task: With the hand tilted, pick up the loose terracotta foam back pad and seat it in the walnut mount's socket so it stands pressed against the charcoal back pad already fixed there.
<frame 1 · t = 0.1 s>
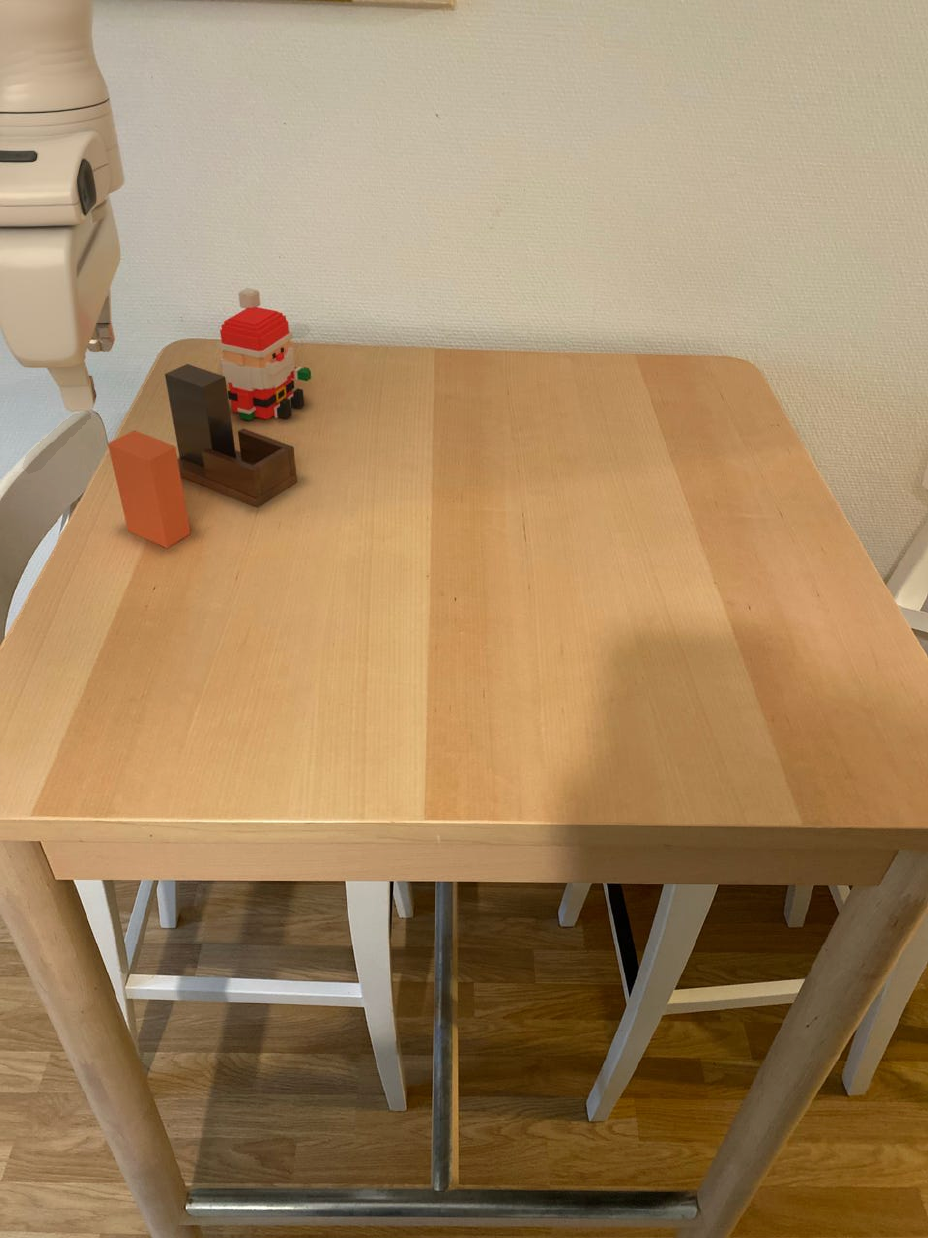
hand: (92, 375, 62), 20 cm above the table, tool pointing down, fingers open, 8 cm apart
pad: (159, 532, 83), on the table
mount: (249, 483, 90), on the table
figurine: (269, 407, 104), on the table
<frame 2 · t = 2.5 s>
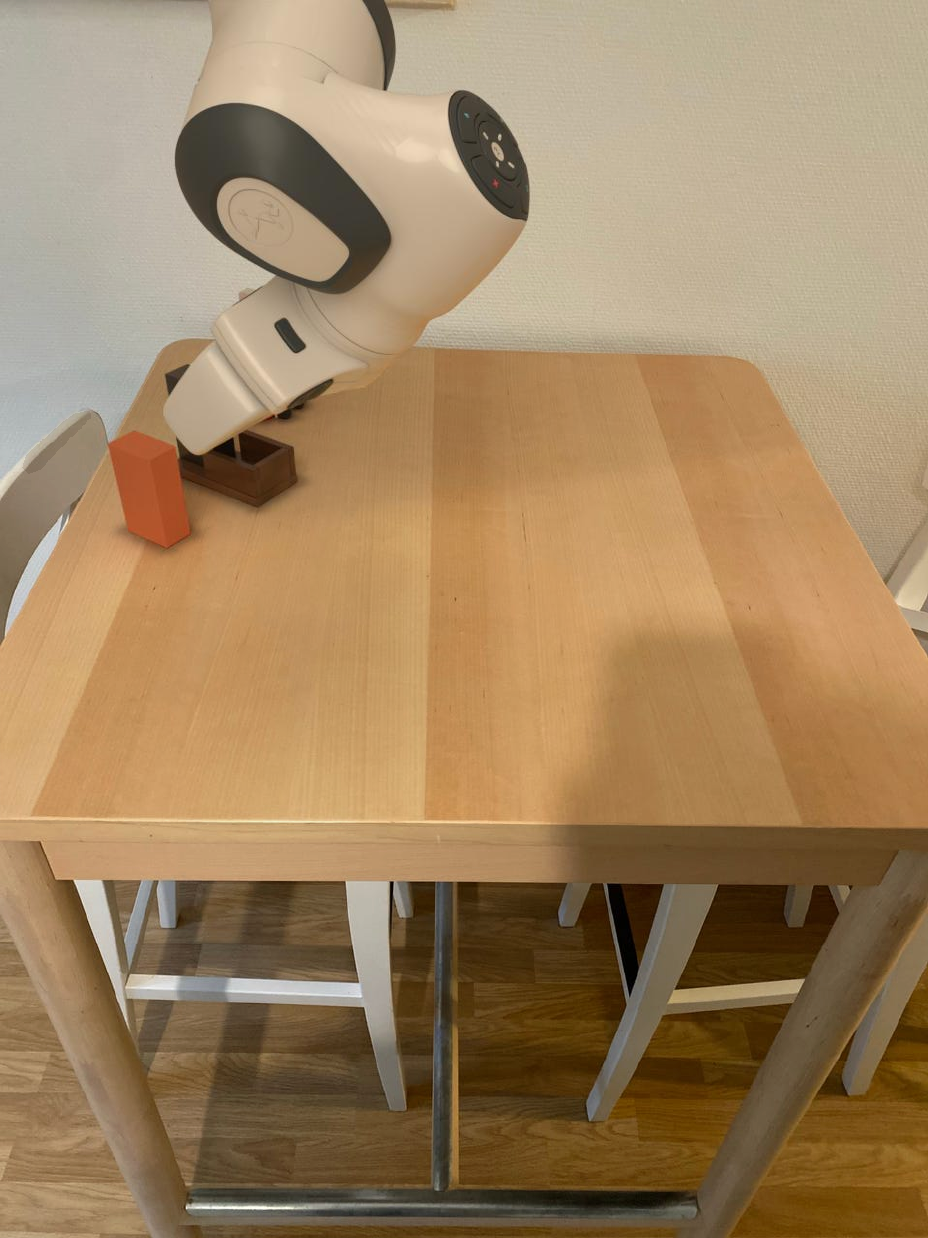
hand: (245, 416, 69), 15 cm above the table, tool tilted 45°, fingers open, 8 cm apart
nothing on the table moved.
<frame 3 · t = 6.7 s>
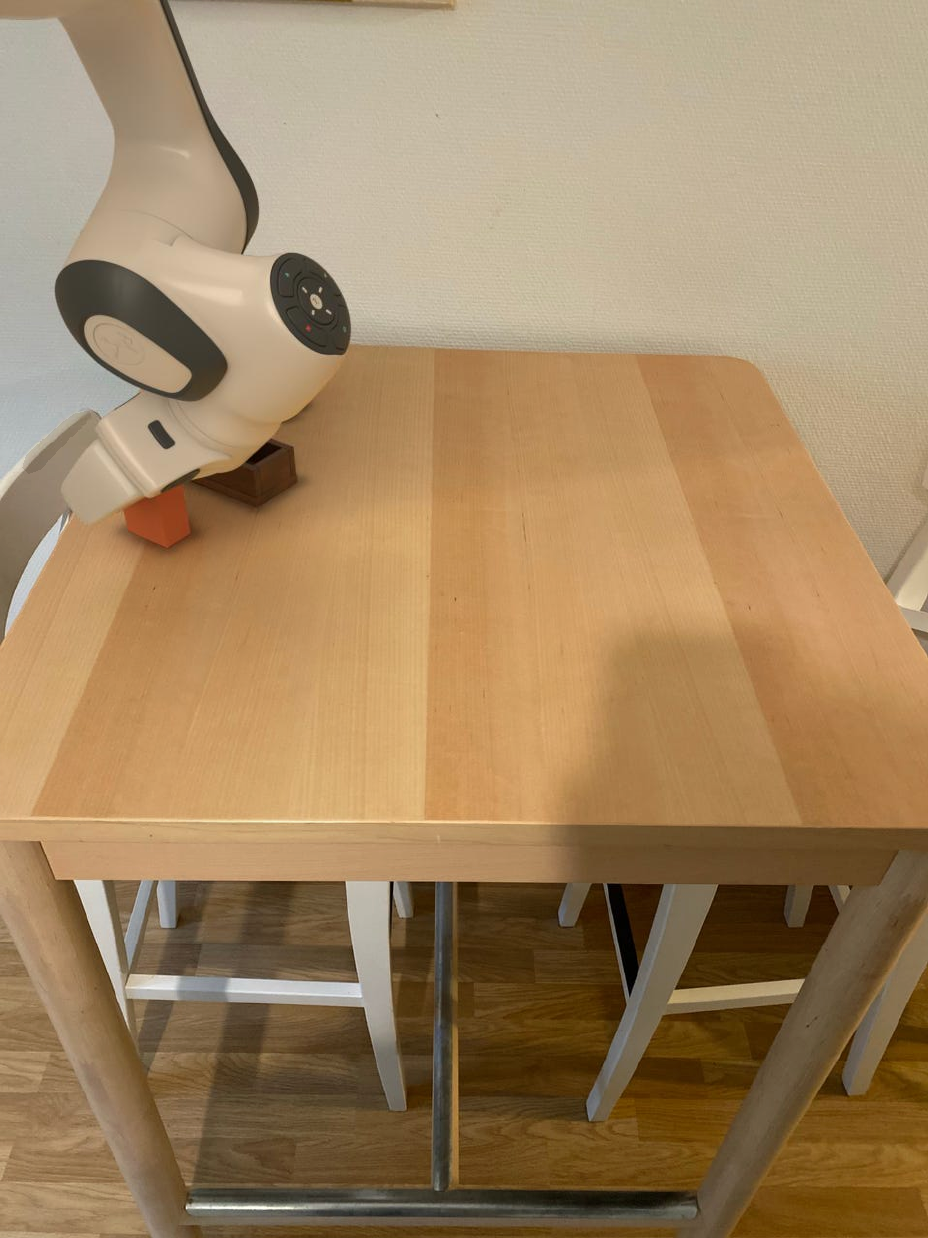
hand: (144, 484, 80), 5 cm above the table, tool tilted 45°, fingers closed on pad, 3 cm apart
pad: (159, 532, 83), on the table, touching gripper
everything else where it was.
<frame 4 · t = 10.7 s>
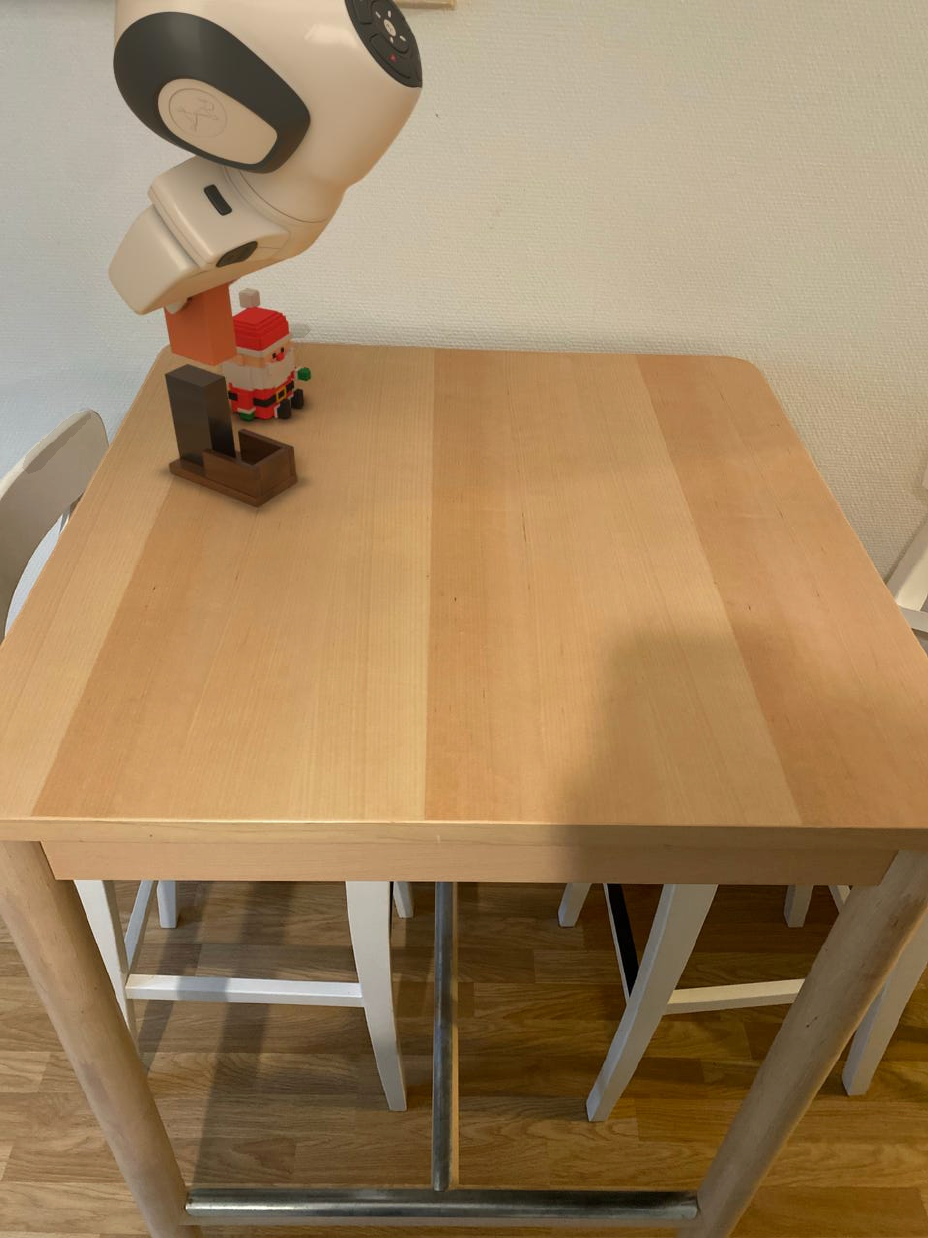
hand: (190, 297, 76), 19 cm above the table, tool tilted 45°, fingers closed on pad, 3 cm apart
pad: (204, 354, 79), point 15 cm above the table, touching gripper
everything else where it was.
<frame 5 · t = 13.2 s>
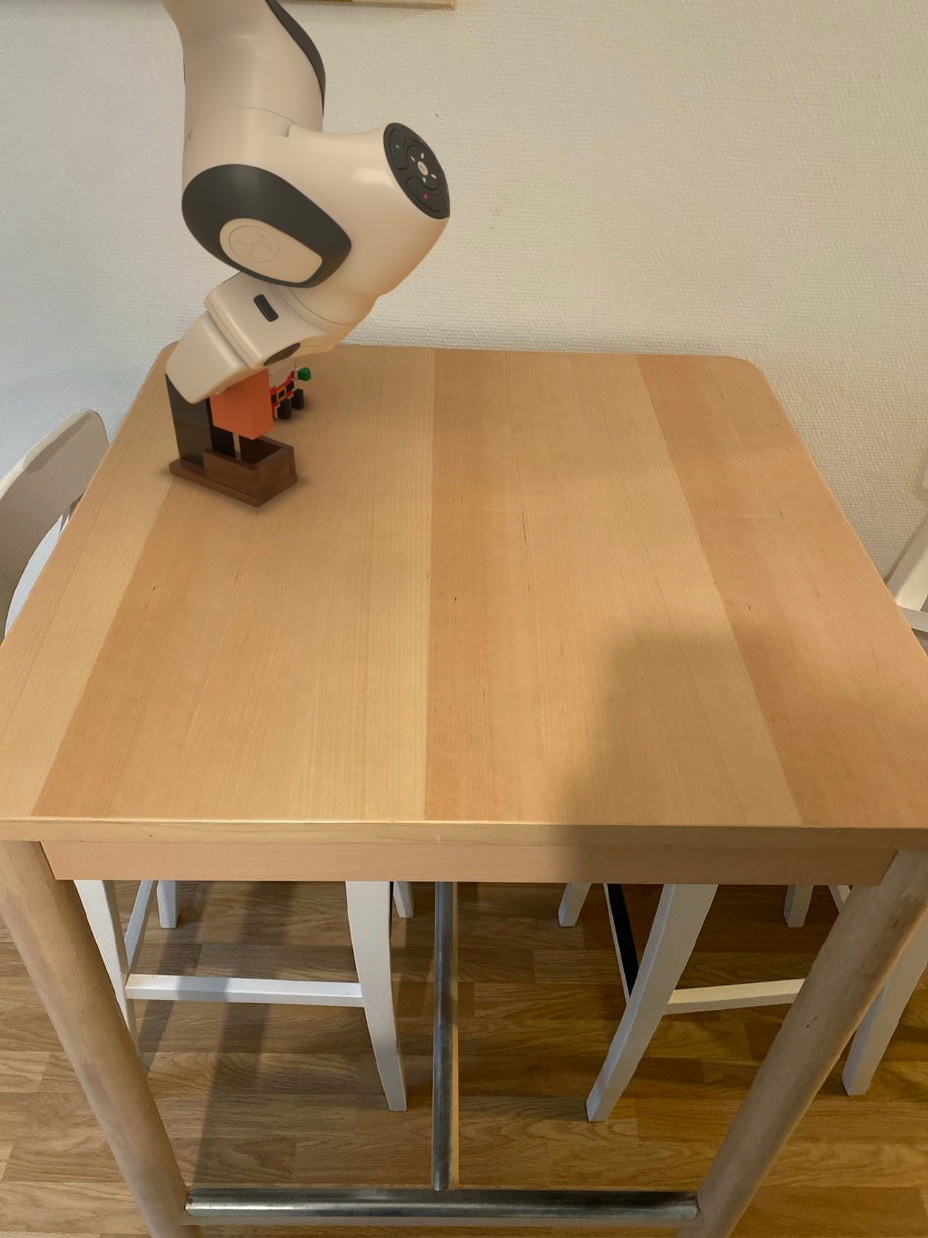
hand: (232, 377, 84), 11 cm above the table, tool tilted 45°, fingers closed on pad, 3 cm apart
pad: (243, 427, 87), point 6 cm above the table, touching gripper
everything else where it was.
when the fingers open (6 cm above the table, at t = 15.0 s): pad stays where it is, resting on mount.
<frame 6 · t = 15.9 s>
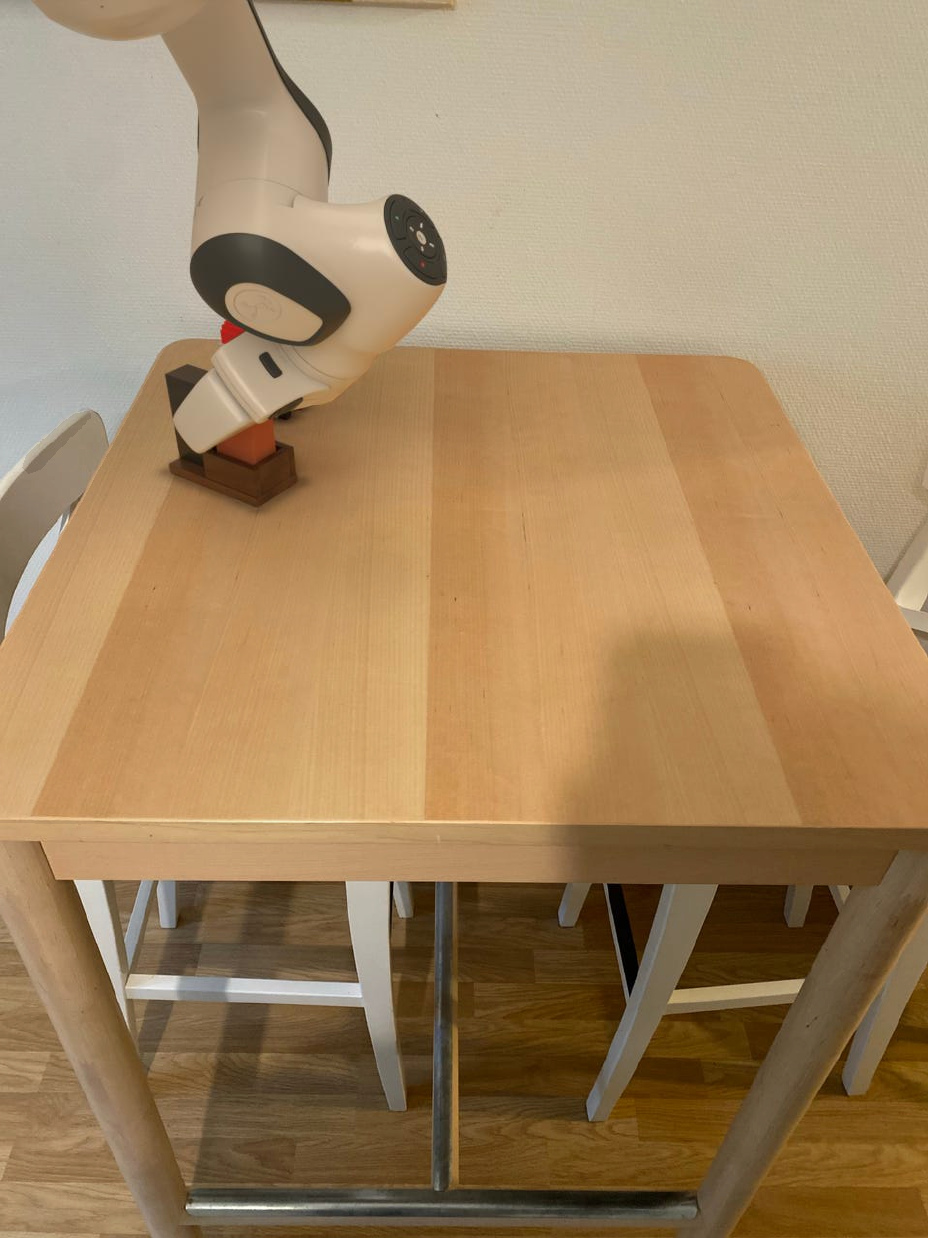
hand: (236, 422, 87), 6 cm above the table, tool tilted 45°, fingers open, 8 cm apart
pad: (249, 474, 90), point 1 cm above the table, touching mount
everything else where it was.
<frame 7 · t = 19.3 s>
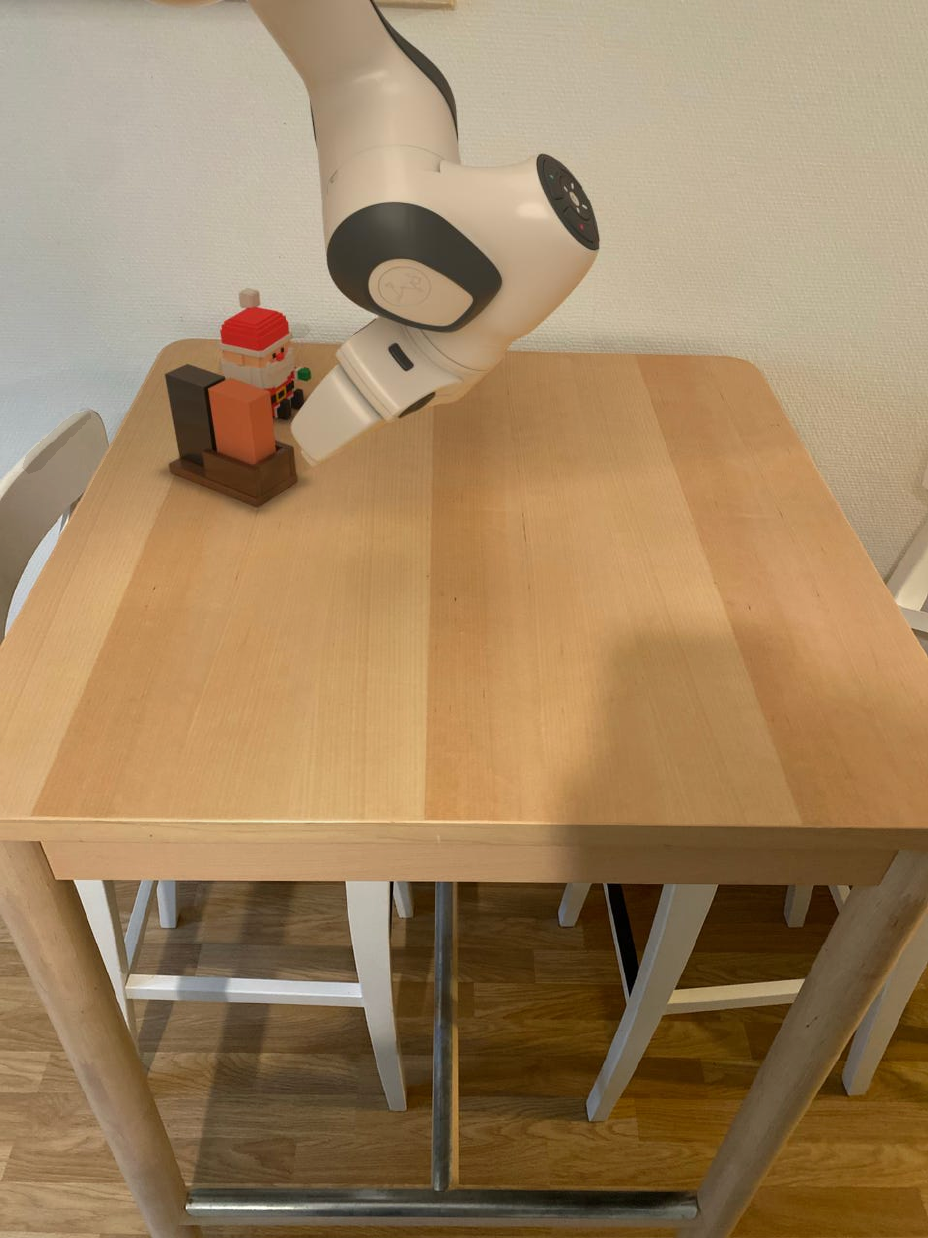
hand: (344, 436, 80), 9 cm above the table, tool tilted 40°, fingers open, 8 cm apart
nothing on the table moved.
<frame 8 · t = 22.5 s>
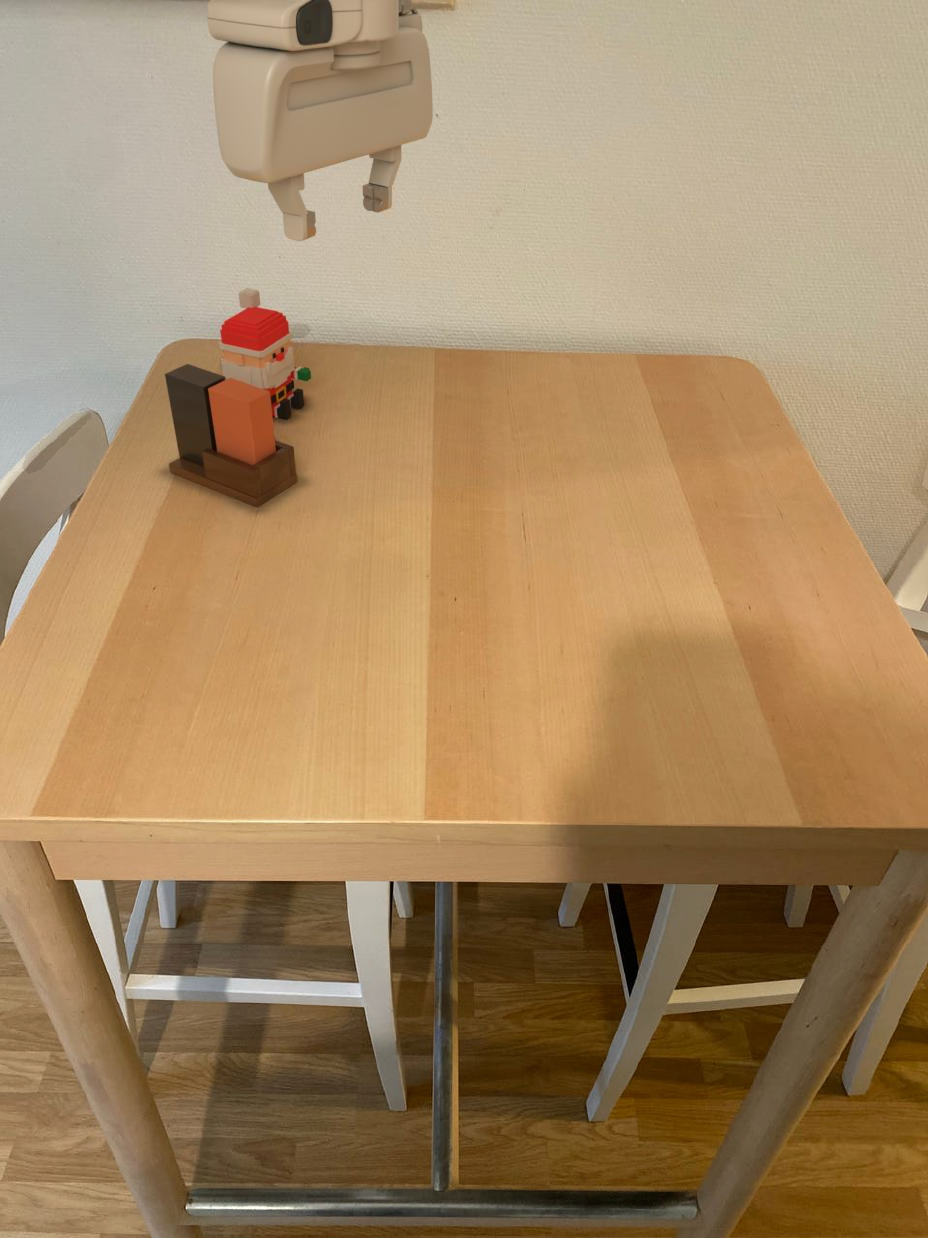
hand: (340, 223, 68), 27 cm above the table, tool pointing down, fingers open, 8 cm apart
nothing on the table moved.
at the end: pad 0.1 cm off-centre on the mount, point 1.0 cm above the mount's base; pad tilted 0°; the gripper is holding nothing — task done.
